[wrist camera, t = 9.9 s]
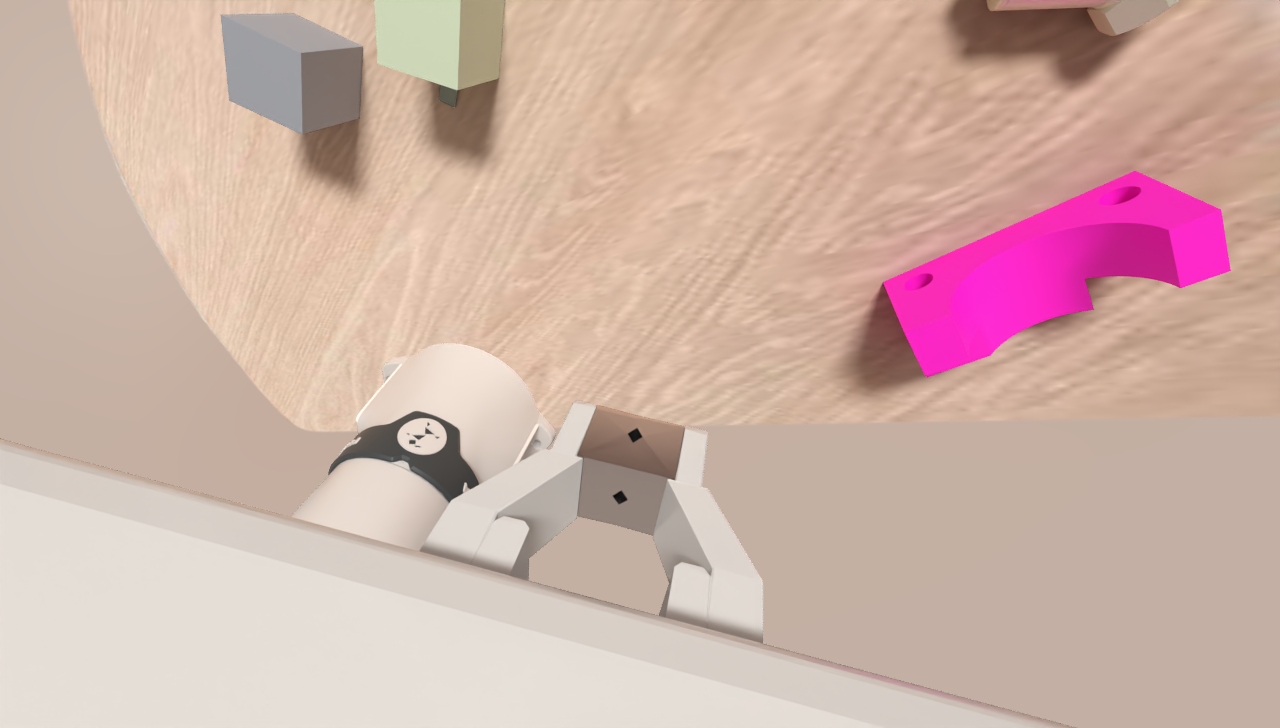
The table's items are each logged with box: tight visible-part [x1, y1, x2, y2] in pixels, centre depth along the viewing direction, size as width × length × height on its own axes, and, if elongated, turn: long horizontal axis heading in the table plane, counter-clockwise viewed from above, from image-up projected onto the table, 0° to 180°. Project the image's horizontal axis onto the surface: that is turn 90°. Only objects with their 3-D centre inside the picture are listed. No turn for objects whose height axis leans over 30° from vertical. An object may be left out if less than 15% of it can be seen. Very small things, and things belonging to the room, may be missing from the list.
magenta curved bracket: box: [883, 171, 1231, 377], centre depth 33 cm, size 15×6×8 cm, turn 125°
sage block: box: [374, 0, 505, 90], centre depth 31 cm, size 5×5×6 cm
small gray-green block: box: [439, 85, 458, 107], centre depth 36 cm, size 2×1×1 cm, turn 158°
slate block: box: [221, 13, 363, 134], centre depth 35 cm, size 5×5×6 cm
